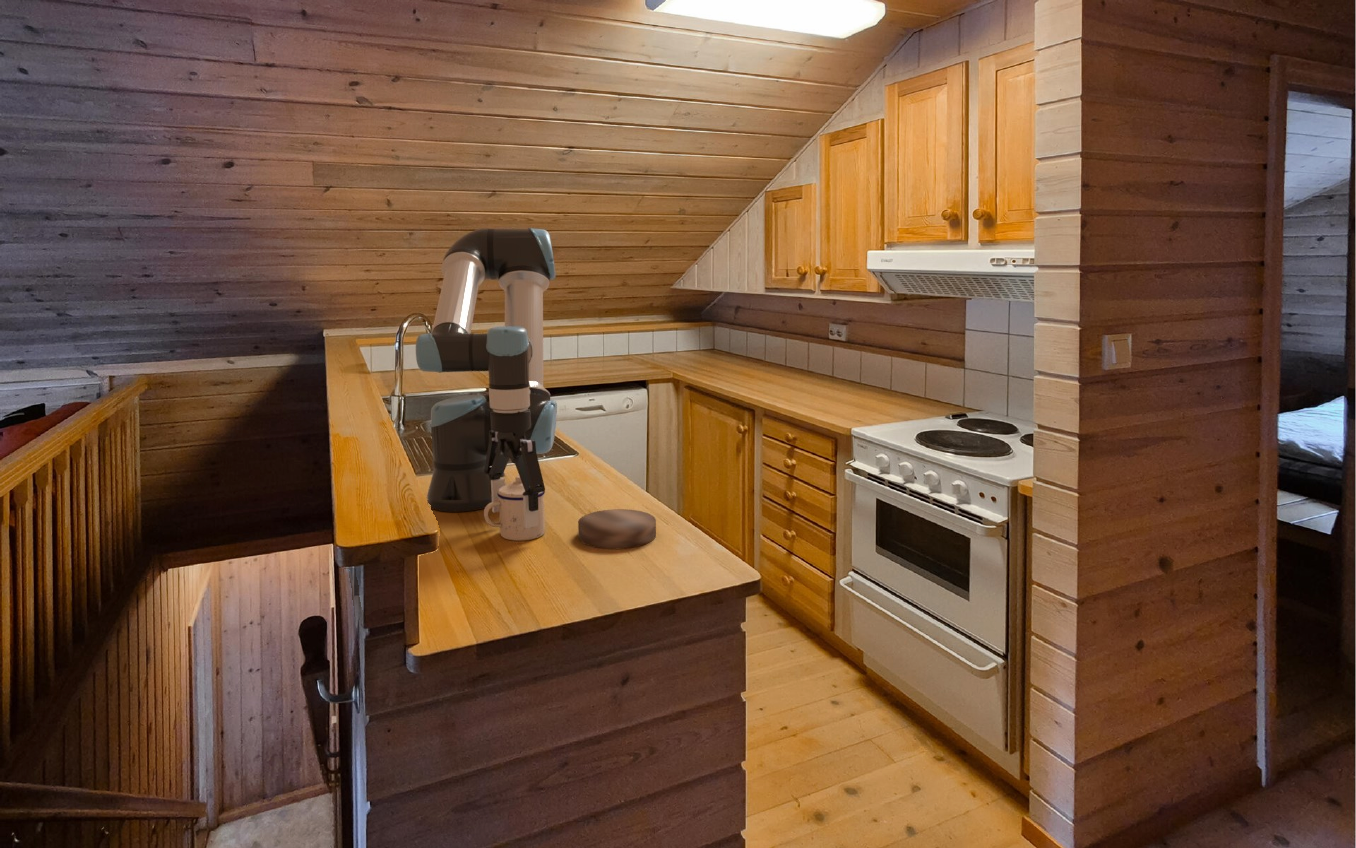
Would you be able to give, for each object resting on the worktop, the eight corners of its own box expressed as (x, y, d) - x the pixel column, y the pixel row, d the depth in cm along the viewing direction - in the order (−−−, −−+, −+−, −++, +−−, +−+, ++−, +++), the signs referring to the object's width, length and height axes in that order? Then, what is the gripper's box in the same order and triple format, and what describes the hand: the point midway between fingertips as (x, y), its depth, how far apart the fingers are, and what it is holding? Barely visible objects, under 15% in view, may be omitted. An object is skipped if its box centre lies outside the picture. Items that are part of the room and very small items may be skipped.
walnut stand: (607, 554, 155) (607, 539, 154) (563, 534, 166) (563, 519, 165) (671, 537, 164) (671, 522, 164) (625, 518, 175) (625, 504, 175)
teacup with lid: (537, 524, 172) (534, 468, 170) (553, 536, 164) (551, 478, 162) (478, 533, 167) (475, 476, 164) (492, 547, 159) (489, 487, 156)
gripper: (561, 416, 154) (565, 529, 158) (497, 398, 172) (502, 500, 176) (525, 421, 149) (529, 538, 153) (463, 402, 167) (468, 507, 172)
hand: (515, 518), depth 165 cm, fingers open, 12 cm apart
